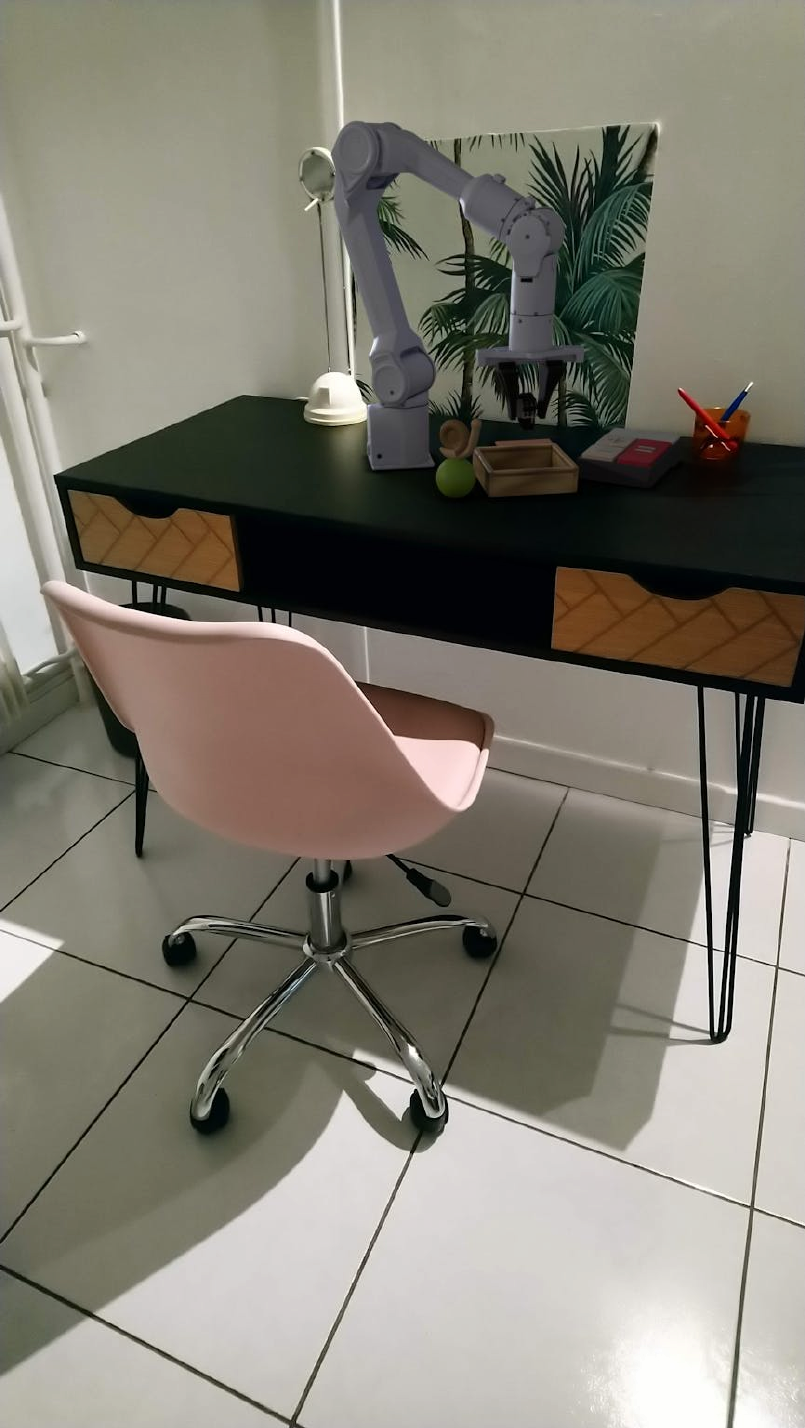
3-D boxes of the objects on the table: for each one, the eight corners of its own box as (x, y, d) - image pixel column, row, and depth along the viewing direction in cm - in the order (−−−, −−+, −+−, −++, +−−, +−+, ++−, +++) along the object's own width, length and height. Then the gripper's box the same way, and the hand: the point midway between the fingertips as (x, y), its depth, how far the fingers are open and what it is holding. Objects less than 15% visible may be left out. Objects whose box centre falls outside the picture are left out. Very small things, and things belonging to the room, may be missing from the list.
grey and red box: (576, 453, 126) (613, 423, 137) (574, 482, 129) (611, 451, 139) (652, 463, 122) (685, 431, 132) (649, 493, 124) (681, 460, 134)
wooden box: (488, 497, 122) (489, 472, 120) (472, 470, 133) (472, 447, 131) (577, 492, 123) (579, 467, 121) (554, 466, 134) (555, 442, 132)
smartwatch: (542, 424, 127) (542, 388, 125) (535, 435, 123) (535, 398, 121) (514, 424, 129) (513, 389, 126) (506, 435, 125) (505, 398, 122)
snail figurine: (469, 507, 119) (471, 415, 113) (428, 499, 122) (428, 409, 116) (488, 495, 123) (491, 406, 116) (448, 488, 126) (448, 400, 119)
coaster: (506, 459, 137) (506, 457, 137) (494, 443, 145) (495, 441, 145) (563, 456, 138) (563, 453, 138) (549, 441, 146) (549, 438, 145)
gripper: (483, 319, 114) (480, 427, 121) (594, 315, 115) (584, 422, 122) (473, 311, 120) (471, 415, 127) (579, 307, 121) (571, 410, 128)
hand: (526, 418), depth 125 cm, fingers closed on smartwatch, 3 cm apart
